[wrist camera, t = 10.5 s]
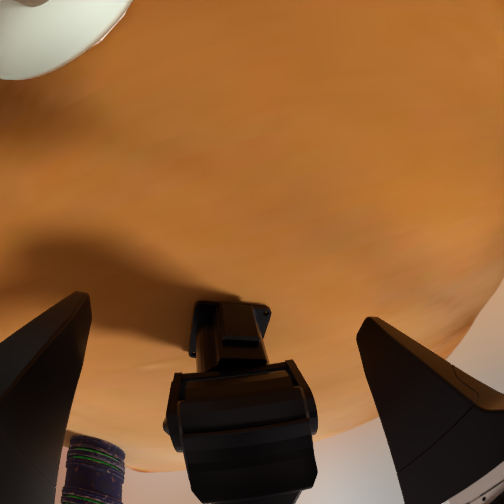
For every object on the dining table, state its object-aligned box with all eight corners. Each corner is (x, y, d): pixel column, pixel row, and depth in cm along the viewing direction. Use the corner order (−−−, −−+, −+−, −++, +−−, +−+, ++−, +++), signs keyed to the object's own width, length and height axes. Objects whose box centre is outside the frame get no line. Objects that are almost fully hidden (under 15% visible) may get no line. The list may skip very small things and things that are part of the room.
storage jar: (100, 433, 32) (92, 521, 19) (137, 458, 37) (137, 535, 24) (58, 435, 33) (46, 511, 19) (95, 460, 37) (90, 528, 24)
